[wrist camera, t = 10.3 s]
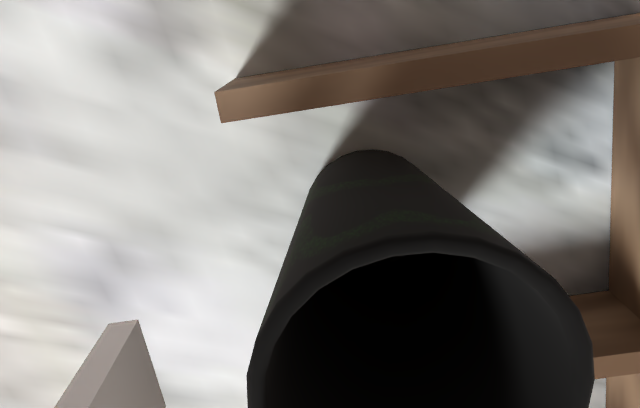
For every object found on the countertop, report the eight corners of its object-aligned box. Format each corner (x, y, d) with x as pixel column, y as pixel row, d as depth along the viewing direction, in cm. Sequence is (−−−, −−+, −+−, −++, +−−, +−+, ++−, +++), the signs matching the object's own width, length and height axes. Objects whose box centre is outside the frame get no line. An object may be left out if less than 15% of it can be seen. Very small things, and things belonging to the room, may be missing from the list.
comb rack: (235, 78, 21) (208, 96, 16) (663, 9, 20) (783, 3, 15) (328, 535, 29) (331, 647, 24) (637, 498, 28) (709, 605, 23)
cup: (455, 115, 22) (610, 218, 10) (459, 281, 24) (586, 513, 13) (269, 135, 22) (218, 257, 10) (292, 297, 24) (270, 539, 13)
